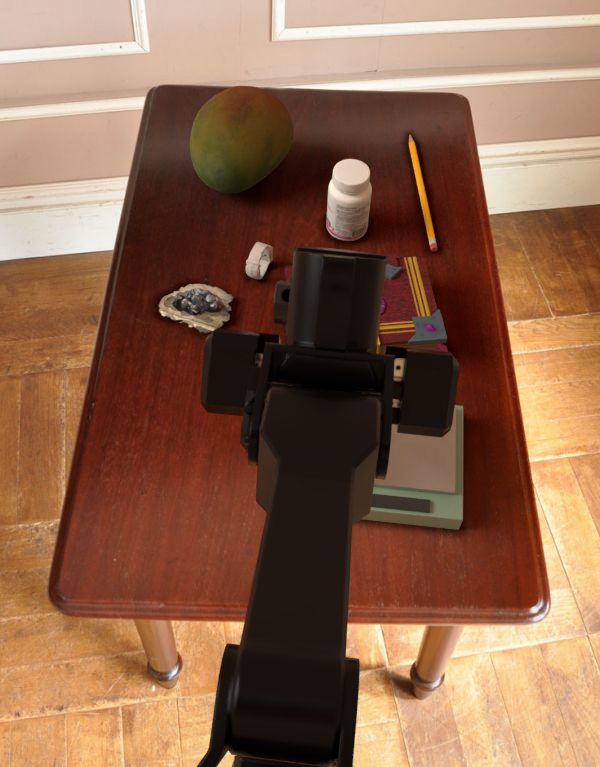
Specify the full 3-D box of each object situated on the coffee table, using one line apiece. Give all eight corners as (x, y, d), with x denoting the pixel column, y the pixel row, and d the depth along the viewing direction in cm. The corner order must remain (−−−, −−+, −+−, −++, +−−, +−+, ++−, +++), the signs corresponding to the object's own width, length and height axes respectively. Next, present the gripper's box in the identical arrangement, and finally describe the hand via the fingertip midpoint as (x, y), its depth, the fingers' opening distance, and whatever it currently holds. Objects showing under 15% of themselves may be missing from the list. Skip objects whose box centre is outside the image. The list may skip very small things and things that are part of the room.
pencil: (430, 251, 96) (431, 247, 96) (406, 136, 107) (407, 132, 106) (437, 251, 96) (438, 247, 96) (412, 136, 107) (413, 131, 106)
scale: (458, 530, 78) (464, 517, 75) (326, 515, 78) (328, 502, 76) (459, 417, 84) (464, 402, 82) (337, 404, 85) (339, 389, 82)
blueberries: (228, 338, 89) (227, 327, 87) (151, 332, 89) (149, 320, 87) (236, 288, 92) (236, 277, 91) (163, 282, 93) (161, 270, 91)
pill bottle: (327, 210, 99) (331, 153, 92) (368, 213, 99) (375, 157, 92) (324, 240, 97) (327, 185, 90) (366, 244, 96) (373, 189, 89)
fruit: (296, 143, 105) (298, 73, 97) (285, 216, 99) (285, 148, 90) (203, 134, 106) (196, 65, 98) (184, 207, 99) (176, 138, 91)
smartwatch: (260, 288, 93) (260, 263, 89) (242, 282, 93) (241, 257, 90) (273, 265, 94) (273, 240, 91) (255, 259, 95) (255, 234, 92)
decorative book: (282, 290, 92) (283, 259, 88) (429, 279, 94) (436, 248, 90) (294, 377, 86) (295, 348, 82) (451, 364, 88) (459, 335, 83)
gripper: (482, 296, 55) (454, 278, 70) (194, 267, 56) (229, 256, 71) (460, 462, 57) (437, 410, 72) (183, 433, 58) (218, 387, 73)
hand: (331, 363), depth 72 cm, fingers closed on cup, 7 cm apart
